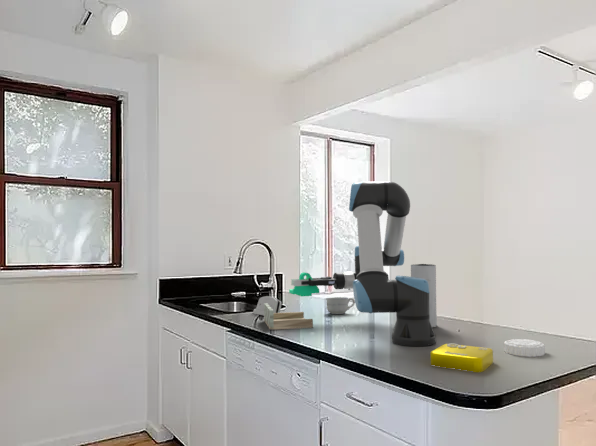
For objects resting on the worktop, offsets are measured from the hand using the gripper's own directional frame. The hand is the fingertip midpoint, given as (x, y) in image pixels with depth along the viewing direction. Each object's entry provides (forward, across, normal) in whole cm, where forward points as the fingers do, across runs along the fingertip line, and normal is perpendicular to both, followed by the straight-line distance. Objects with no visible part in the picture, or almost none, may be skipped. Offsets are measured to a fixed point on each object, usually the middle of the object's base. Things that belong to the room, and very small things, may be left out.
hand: (292, 282), depth 223 cm
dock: (+4, -1, -18) cm, 18 cm away
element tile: (-32, -83, -19) cm, 91 cm away
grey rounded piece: (+6, +31, -18) cm, 36 cm away
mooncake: (-59, -76, -18) cm, 98 cm away
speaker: (-51, -23, -18) cm, 59 cm away
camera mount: (-6, +2, -6) cm, 9 cm away
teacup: (-29, +20, -18) cm, 39 cm away
